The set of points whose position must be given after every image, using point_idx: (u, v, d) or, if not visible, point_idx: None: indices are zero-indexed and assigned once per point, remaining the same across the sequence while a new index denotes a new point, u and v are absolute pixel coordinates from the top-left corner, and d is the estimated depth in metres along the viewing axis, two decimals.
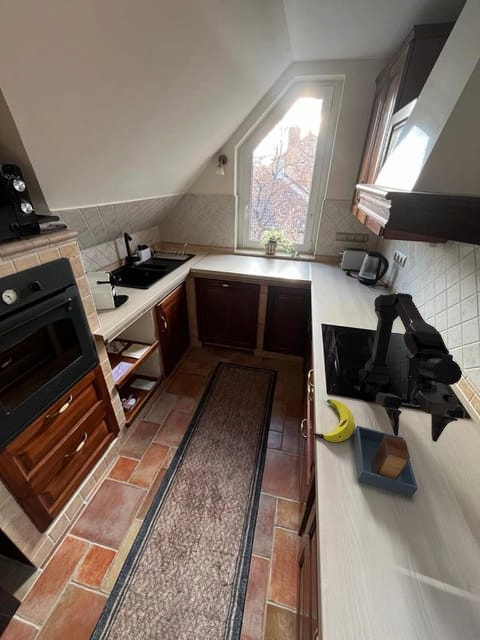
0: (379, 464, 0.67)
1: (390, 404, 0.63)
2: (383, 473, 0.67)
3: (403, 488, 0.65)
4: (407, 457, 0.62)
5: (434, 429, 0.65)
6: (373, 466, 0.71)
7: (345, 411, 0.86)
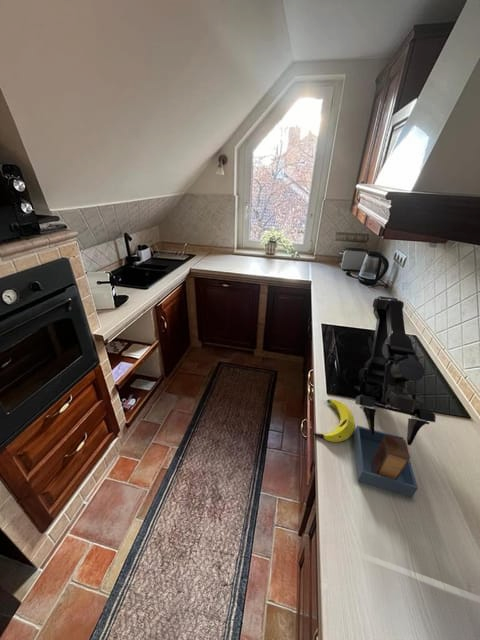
0: (379, 464, 0.67)
1: (365, 402, 0.70)
2: (383, 473, 0.67)
3: (403, 488, 0.65)
4: (407, 457, 0.62)
5: (409, 433, 0.69)
6: (373, 466, 0.71)
7: (345, 411, 0.86)
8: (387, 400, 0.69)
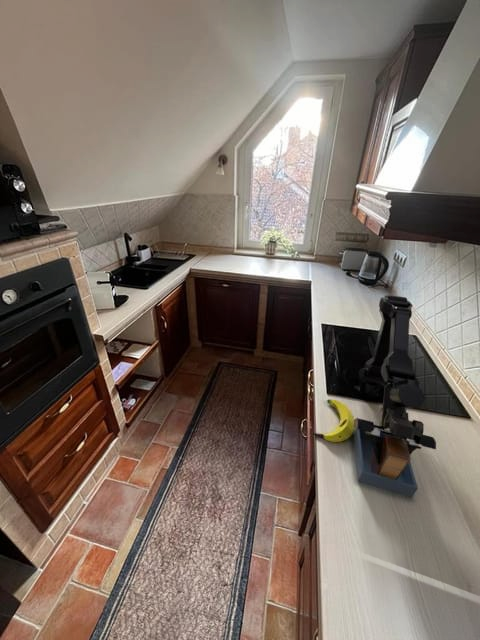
0: (380, 465, 0.67)
1: (363, 426, 0.68)
2: (383, 473, 0.67)
3: (403, 488, 0.65)
4: (408, 458, 0.62)
5: None
6: (373, 466, 0.71)
7: (345, 411, 0.86)
8: (386, 425, 0.67)
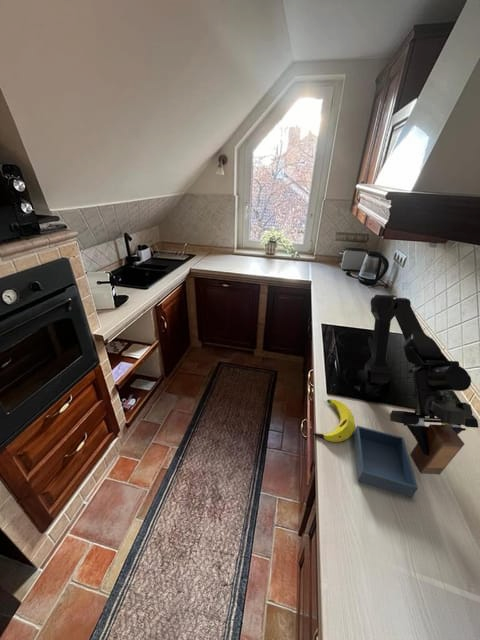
0: (429, 456, 0.62)
1: (408, 420, 0.62)
2: (433, 464, 0.63)
3: (403, 488, 0.65)
4: (461, 444, 0.58)
5: None
6: (417, 458, 0.66)
7: (345, 411, 0.85)
8: (430, 413, 0.62)
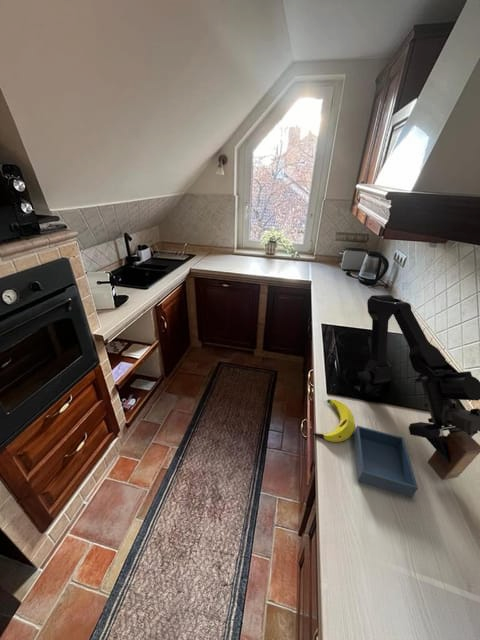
0: (451, 464, 0.64)
1: (431, 433, 0.63)
2: (454, 471, 0.65)
3: (403, 488, 0.65)
4: None
5: None
6: (436, 465, 0.69)
7: (345, 411, 0.85)
8: (447, 423, 0.65)
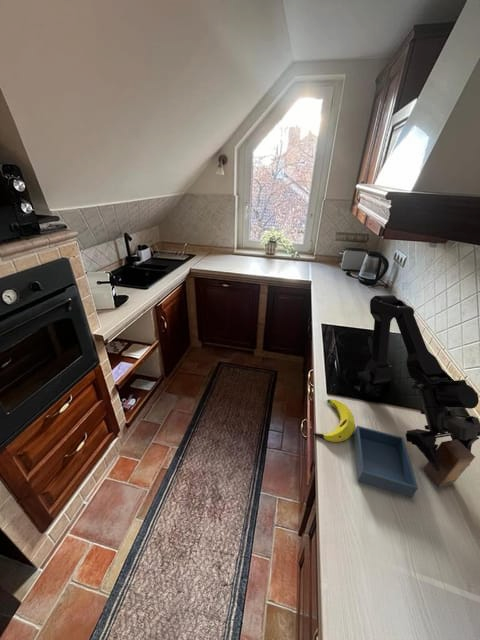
0: (445, 472, 0.66)
1: (427, 440, 0.64)
2: (448, 479, 0.67)
3: (403, 488, 0.65)
4: (473, 457, 0.63)
5: None
6: (431, 473, 0.70)
7: (345, 411, 0.85)
8: (443, 430, 0.66)
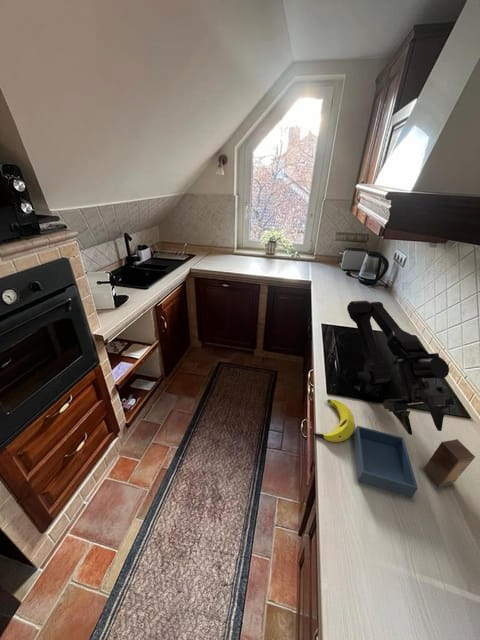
0: (445, 472, 0.66)
1: (400, 407, 0.72)
2: (448, 479, 0.67)
3: (403, 488, 0.65)
4: (473, 457, 0.63)
5: (436, 420, 0.76)
6: (431, 473, 0.70)
7: (345, 411, 0.85)
8: (416, 399, 0.73)
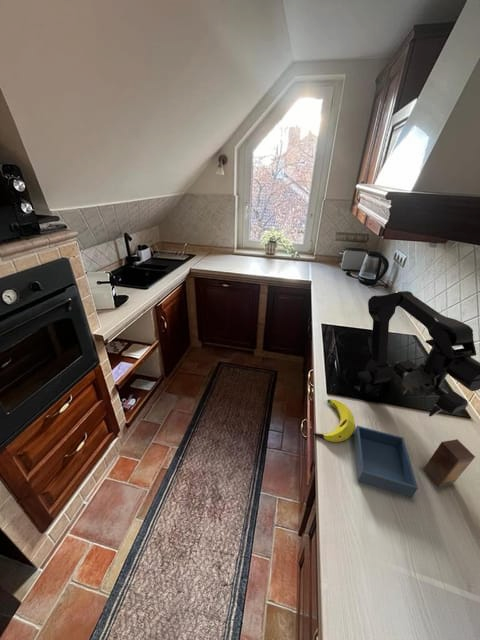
0: (445, 472, 0.66)
1: (396, 368, 0.79)
2: (448, 479, 0.67)
3: (403, 488, 0.65)
4: (473, 457, 0.63)
5: None
6: (431, 473, 0.70)
7: (345, 411, 0.85)
8: None
